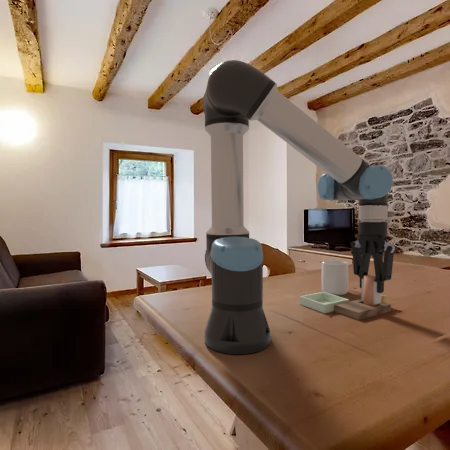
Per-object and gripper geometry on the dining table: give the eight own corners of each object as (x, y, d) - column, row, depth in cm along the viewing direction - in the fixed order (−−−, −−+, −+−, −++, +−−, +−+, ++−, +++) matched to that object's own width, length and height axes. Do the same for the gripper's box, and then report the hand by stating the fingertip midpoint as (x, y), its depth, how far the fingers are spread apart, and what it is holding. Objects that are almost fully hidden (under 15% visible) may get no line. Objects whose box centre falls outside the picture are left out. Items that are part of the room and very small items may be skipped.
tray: (324, 315, 91) (324, 304, 91) (299, 305, 100) (299, 296, 100) (348, 309, 96) (349, 299, 96) (322, 300, 105) (323, 291, 105)
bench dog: (384, 310, 94) (385, 297, 94) (375, 308, 97) (375, 295, 97) (391, 309, 96) (391, 296, 96) (381, 306, 99) (382, 293, 98)
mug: (342, 298, 108) (343, 265, 107) (317, 294, 113) (317, 262, 113) (354, 291, 117) (354, 260, 116) (330, 287, 122) (330, 258, 122)
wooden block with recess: (357, 323, 86) (358, 312, 86) (334, 315, 93) (334, 304, 93) (390, 314, 92) (391, 304, 92) (366, 307, 99) (366, 297, 99)
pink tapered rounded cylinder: (371, 313, 91) (372, 278, 90) (360, 309, 94) (361, 275, 93) (379, 311, 93) (380, 276, 92) (368, 307, 96) (369, 274, 95)
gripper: (408, 221, 87) (406, 307, 88) (357, 219, 101) (356, 293, 102) (391, 222, 83) (389, 311, 85) (340, 220, 97) (339, 297, 99)
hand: (371, 301), depth 93 cm, fingers closed on pink tapered rounded cylinder, 3 cm apart
